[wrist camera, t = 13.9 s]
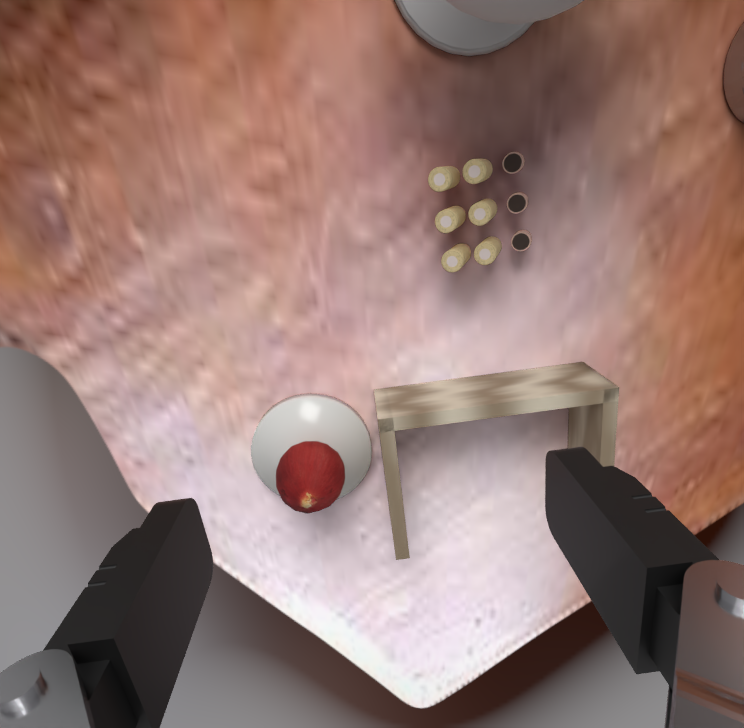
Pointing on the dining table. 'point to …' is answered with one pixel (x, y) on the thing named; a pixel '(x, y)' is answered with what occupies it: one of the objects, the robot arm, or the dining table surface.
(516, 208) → the ammunition
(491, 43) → the chalice
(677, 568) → the robot arm
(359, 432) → the white flat disc
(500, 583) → the dining table surface
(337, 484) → the onion
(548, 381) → the wooden plank arch
